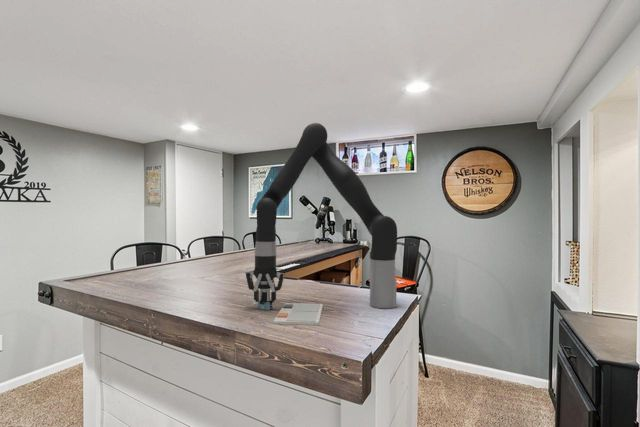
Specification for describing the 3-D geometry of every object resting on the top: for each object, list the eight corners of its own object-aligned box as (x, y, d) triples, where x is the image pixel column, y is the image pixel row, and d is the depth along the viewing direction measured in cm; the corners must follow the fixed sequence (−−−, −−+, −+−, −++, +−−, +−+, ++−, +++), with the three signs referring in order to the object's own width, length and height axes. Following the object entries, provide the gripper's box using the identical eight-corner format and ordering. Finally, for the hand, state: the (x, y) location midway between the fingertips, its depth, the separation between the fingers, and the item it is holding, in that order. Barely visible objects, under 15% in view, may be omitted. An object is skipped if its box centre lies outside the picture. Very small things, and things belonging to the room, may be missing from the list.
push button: (278, 307, 111) (278, 280, 111) (270, 312, 106) (270, 282, 106) (262, 305, 114) (262, 278, 114) (254, 309, 109) (254, 281, 109)
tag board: (322, 306, 114) (322, 302, 114) (318, 325, 94) (318, 320, 94) (285, 305, 115) (285, 301, 115) (273, 323, 95) (273, 319, 95)
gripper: (287, 253, 114) (286, 299, 113) (249, 252, 115) (248, 298, 114) (283, 255, 106) (282, 305, 106) (242, 254, 107) (241, 303, 107)
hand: (264, 301), depth 110 cm, fingers closed on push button, 5 cm apart
